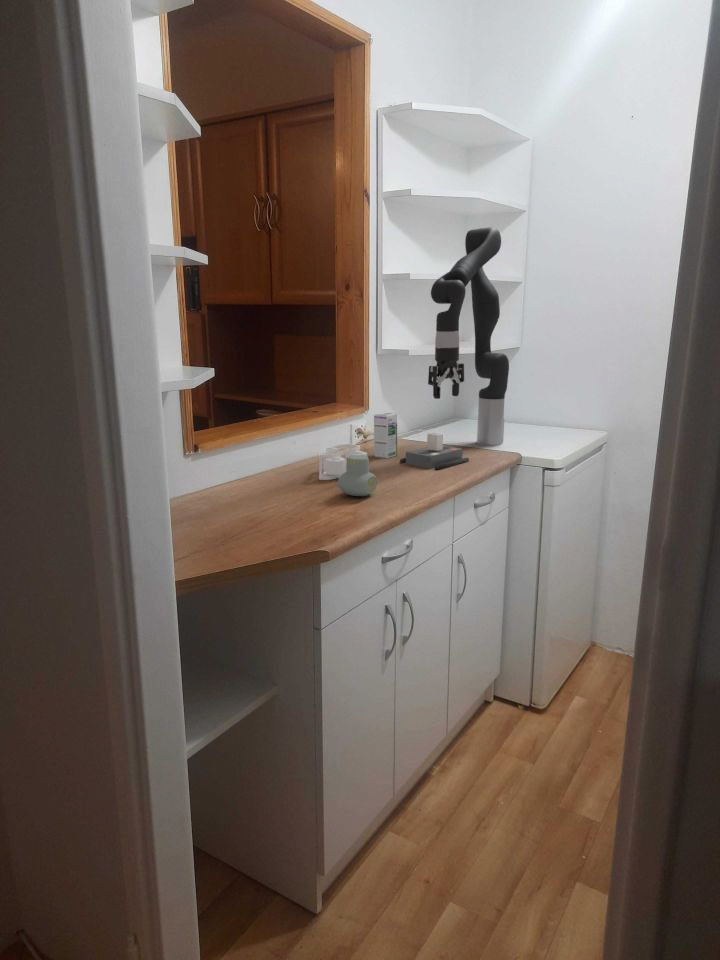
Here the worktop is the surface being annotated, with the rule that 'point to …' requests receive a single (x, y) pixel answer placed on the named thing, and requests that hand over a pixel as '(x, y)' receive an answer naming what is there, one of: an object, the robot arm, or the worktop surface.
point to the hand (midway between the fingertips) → (446, 397)
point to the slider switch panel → (444, 463)
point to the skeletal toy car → (336, 460)
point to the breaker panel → (433, 456)
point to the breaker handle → (435, 441)
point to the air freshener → (357, 477)
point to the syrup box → (385, 435)
